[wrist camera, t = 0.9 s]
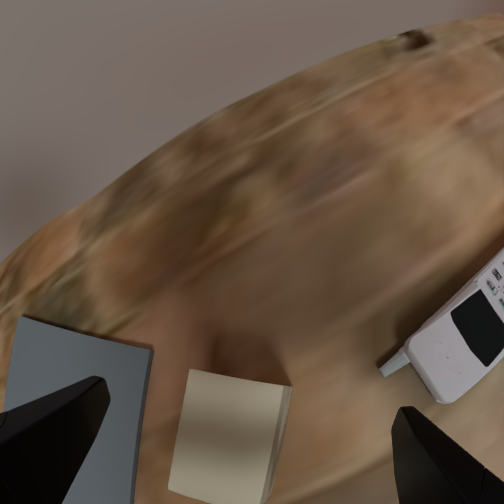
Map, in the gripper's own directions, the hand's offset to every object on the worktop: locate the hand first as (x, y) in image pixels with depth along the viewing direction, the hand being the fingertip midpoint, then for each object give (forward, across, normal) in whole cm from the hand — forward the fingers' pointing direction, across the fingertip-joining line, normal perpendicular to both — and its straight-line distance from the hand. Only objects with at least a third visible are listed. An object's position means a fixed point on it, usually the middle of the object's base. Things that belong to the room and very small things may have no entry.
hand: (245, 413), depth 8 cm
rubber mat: (+8, +18, +15) cm, 25 cm away
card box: (+9, +1, +11) cm, 14 cm away
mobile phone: (+14, -19, +1) cm, 23 cm away
